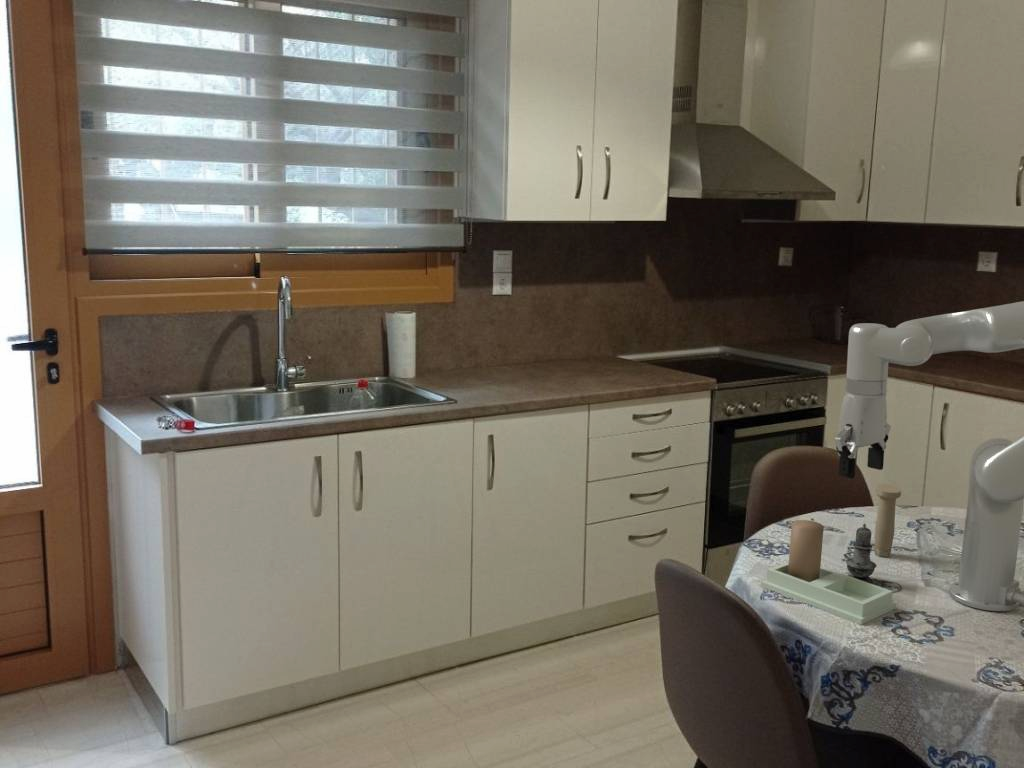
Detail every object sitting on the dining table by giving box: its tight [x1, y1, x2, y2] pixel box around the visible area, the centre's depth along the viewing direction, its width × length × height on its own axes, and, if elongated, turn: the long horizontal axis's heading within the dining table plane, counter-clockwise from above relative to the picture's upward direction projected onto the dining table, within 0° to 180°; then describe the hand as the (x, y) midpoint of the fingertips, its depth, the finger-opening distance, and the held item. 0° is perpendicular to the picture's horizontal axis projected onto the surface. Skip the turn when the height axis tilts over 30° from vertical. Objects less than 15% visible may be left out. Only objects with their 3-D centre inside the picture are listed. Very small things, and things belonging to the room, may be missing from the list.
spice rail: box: [760, 519, 898, 626], centre depth 191 cm, size 22×12×13 cm, turn 39°
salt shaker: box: [845, 523, 877, 585], centre depth 200 cm, size 6×6×12 cm
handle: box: [873, 483, 902, 558], centre depth 214 cm, size 5×6×15 cm
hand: (861, 472), depth 196 cm, fingers open, 9 cm apart
